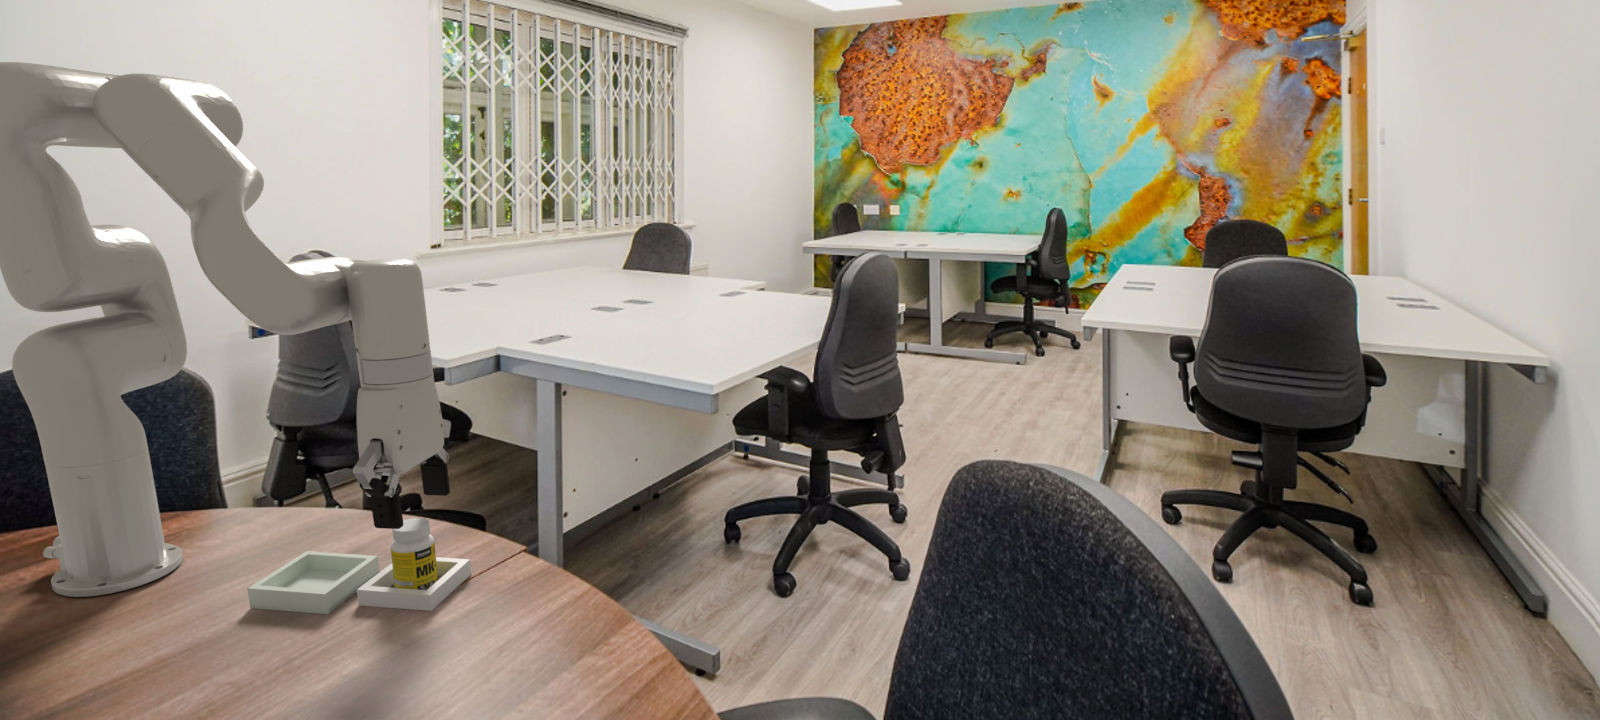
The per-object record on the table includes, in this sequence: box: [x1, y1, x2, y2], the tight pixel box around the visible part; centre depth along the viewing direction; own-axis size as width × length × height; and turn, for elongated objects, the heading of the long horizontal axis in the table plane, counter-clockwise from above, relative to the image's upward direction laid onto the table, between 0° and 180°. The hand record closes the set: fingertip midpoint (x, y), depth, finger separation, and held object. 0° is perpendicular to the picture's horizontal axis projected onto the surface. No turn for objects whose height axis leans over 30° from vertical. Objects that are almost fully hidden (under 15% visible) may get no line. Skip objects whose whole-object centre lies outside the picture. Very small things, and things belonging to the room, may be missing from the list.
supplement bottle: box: [390, 517, 439, 590], centre depth 98 cm, size 5×5×8 cm
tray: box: [247, 550, 381, 615], centre depth 98 cm, size 10×10×2 cm
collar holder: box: [356, 556, 472, 612], centre depth 99 cm, size 9×9×2 cm
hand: (414, 510), depth 96 cm, fingers open, 9 cm apart
